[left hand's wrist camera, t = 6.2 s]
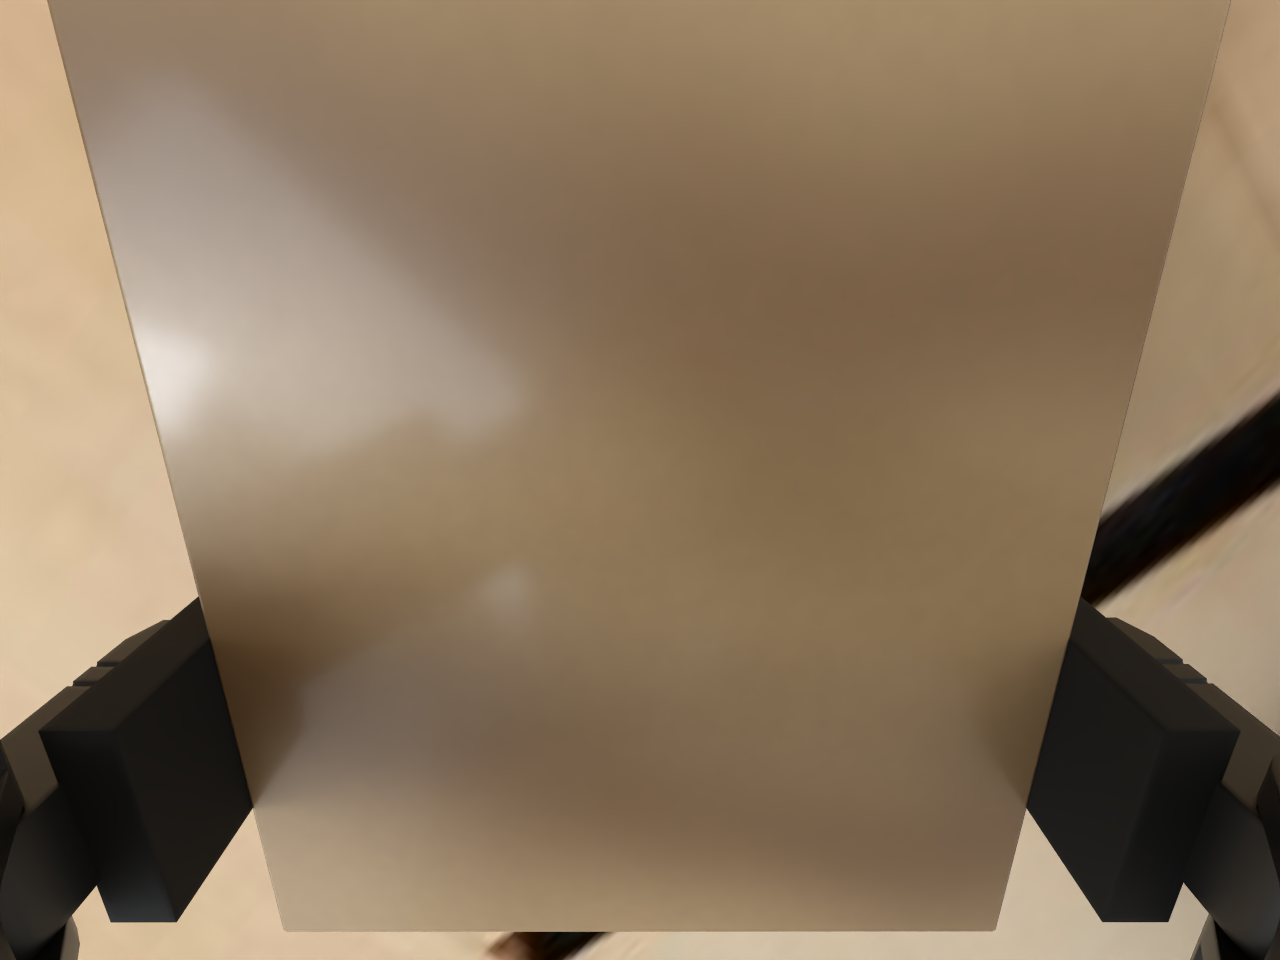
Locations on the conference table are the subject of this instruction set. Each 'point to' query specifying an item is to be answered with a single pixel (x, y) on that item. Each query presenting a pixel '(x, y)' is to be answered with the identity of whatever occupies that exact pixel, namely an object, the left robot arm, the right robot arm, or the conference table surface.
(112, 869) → the left robot arm
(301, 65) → the cabinet
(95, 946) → the conference table surface
